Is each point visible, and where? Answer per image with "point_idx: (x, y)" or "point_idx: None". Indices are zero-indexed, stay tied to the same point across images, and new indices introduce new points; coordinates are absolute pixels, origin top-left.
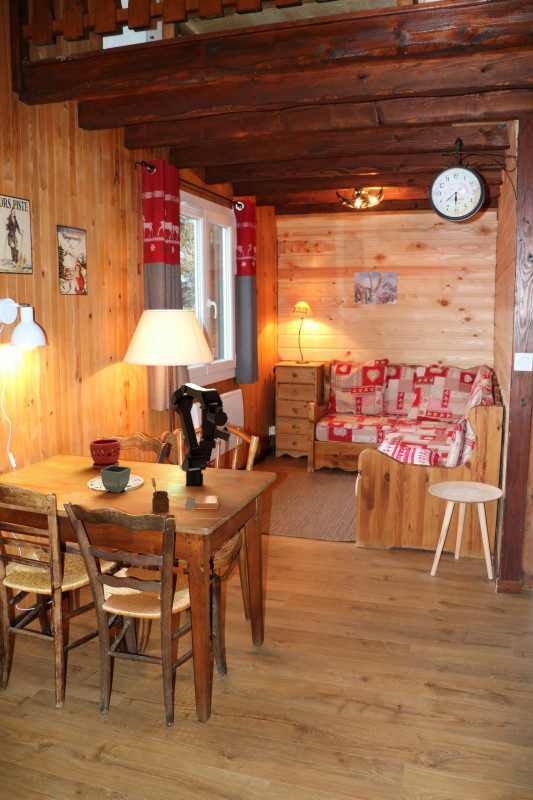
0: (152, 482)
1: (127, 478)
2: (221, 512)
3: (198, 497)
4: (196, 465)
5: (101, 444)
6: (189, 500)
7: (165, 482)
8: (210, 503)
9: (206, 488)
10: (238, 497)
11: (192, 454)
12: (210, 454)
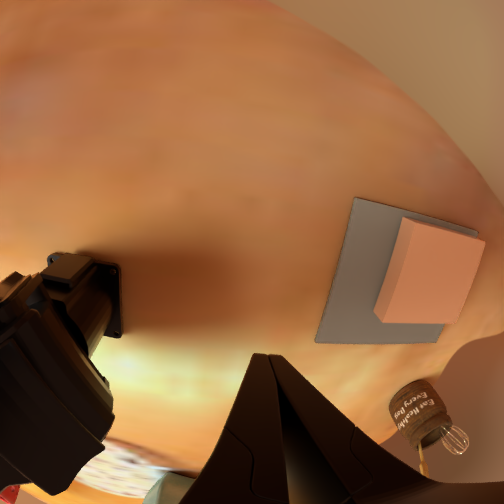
0: (428, 475)
1: (173, 497)
2: (491, 222)
3: (407, 311)
4: (91, 370)
5: (9, 502)
6: (355, 333)
7: (464, 449)
8: (477, 266)
9: (147, 240)
10: (353, 91)
11: (70, 456)
12: (345, 427)
